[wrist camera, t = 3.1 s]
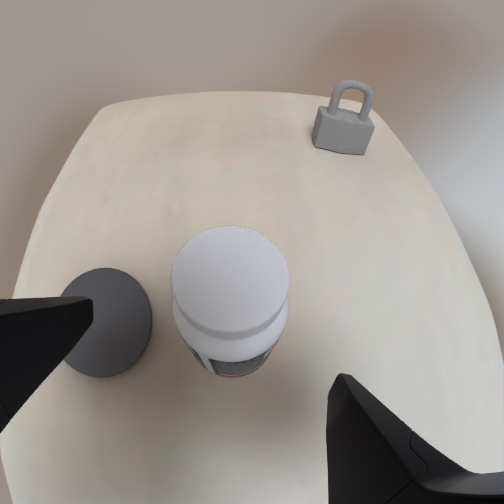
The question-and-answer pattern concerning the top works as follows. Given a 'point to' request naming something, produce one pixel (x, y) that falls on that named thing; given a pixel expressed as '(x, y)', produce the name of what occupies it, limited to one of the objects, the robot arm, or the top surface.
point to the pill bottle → (230, 298)
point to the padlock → (344, 122)
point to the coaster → (110, 322)
